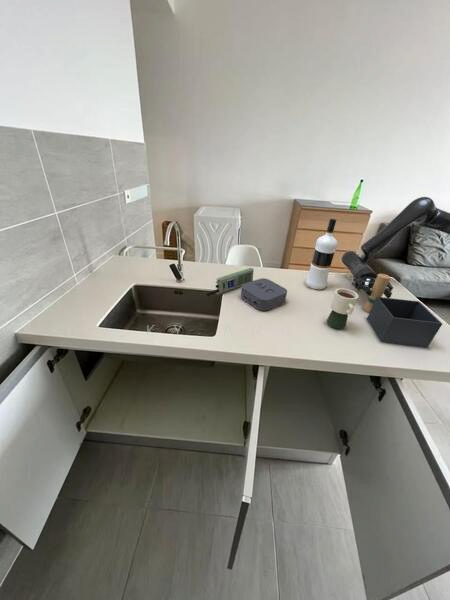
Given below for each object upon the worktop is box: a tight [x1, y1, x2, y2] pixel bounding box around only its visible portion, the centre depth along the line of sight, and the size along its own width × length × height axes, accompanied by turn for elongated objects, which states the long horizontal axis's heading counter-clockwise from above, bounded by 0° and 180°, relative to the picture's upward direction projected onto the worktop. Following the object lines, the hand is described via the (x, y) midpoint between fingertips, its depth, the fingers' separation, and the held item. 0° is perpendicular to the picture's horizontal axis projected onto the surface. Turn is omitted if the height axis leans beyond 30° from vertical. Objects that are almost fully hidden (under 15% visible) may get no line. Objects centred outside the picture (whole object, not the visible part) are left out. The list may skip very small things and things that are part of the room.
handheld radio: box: [206, 267, 254, 297], centre depth 104 cm, size 7×3×25 cm
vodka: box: [304, 218, 338, 291], centre depth 104 cm, size 9×9×30 cm
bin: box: [366, 296, 443, 349], centre depth 82 cm, size 14×13×10 cm
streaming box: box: [240, 278, 288, 312], centre depth 98 cm, size 14×14×5 cm
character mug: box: [326, 287, 359, 330], centre depth 83 cm, size 11×7×13 cm, turn 4°
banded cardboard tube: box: [363, 273, 391, 314], centre depth 92 cm, size 4×4×15 cm
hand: (379, 294), depth 89 cm, fingers open, 6 cm apart
